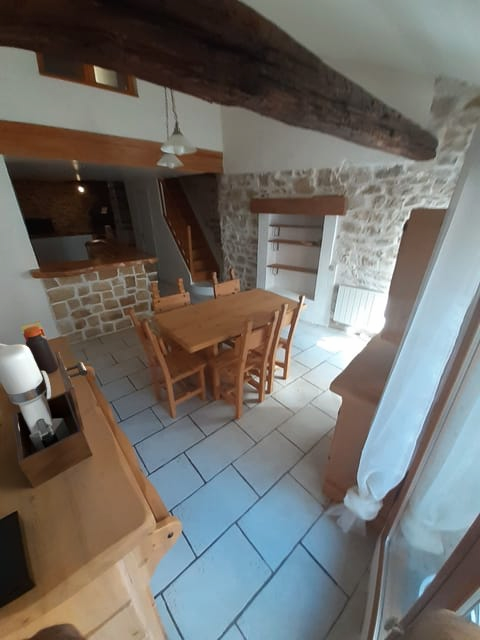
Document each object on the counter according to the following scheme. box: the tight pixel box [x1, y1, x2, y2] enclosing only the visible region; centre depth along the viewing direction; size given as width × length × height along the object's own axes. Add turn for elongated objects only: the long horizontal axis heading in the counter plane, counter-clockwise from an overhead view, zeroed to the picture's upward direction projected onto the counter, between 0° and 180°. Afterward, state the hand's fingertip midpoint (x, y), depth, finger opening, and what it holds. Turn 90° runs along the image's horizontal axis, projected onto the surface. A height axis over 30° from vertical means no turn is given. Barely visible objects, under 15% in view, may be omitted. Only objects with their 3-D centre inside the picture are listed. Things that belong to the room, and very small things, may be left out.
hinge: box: [40, 371, 52, 400], centre depth 91 cm, size 17×5×10 cm, turn 43°
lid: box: [54, 350, 88, 431], centre depth 73 cm, size 15×21×5 cm
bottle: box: [24, 326, 59, 375], centre depth 102 cm, size 7×7×20 cm
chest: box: [12, 391, 93, 489], centre depth 73 cm, size 14×21×10 cm, turn 42°
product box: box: [29, 418, 70, 452], centre depth 73 cm, size 6×6×7 cm
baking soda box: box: [20, 320, 47, 342], centre depth 112 cm, size 10×6×16 cm
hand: (49, 434), depth 73 cm, fingers open, 9 cm apart
